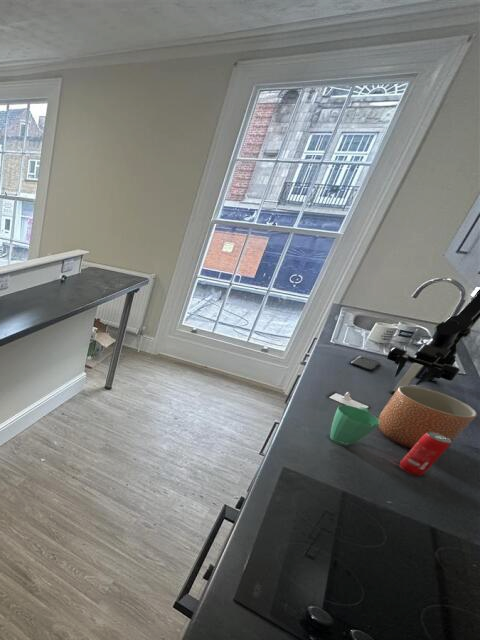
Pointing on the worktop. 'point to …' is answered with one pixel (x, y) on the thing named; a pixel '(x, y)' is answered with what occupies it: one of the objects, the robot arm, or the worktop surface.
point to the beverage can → (424, 453)
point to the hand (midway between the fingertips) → (405, 380)
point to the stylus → (408, 376)
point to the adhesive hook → (347, 400)
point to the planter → (423, 415)
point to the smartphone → (365, 363)
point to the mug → (352, 424)
